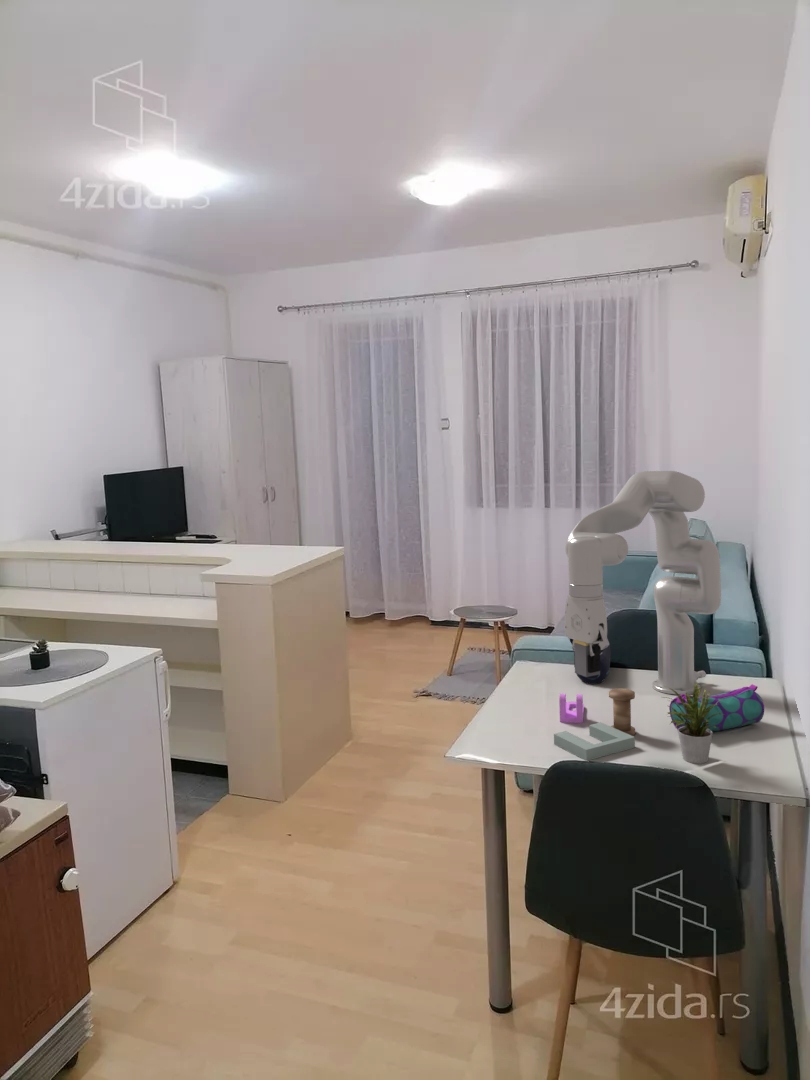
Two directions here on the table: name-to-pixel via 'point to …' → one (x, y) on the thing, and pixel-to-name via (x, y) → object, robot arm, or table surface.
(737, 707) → the pencil case
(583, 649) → the yellow and grey block
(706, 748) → the house plant
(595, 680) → the portable speaker
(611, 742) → the notched board
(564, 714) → the bracket
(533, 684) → the table surface
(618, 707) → the bobbin
